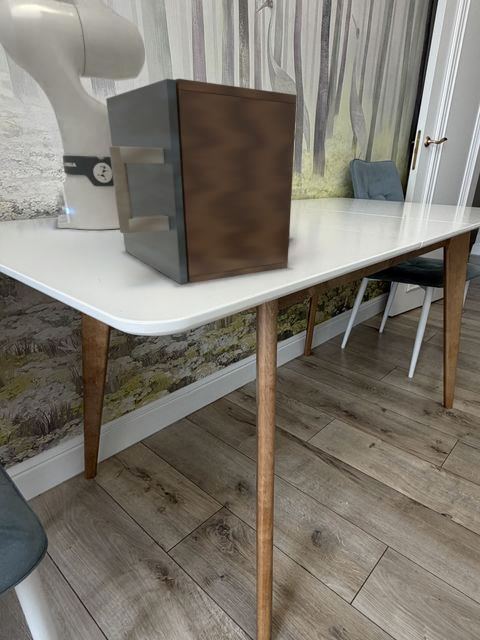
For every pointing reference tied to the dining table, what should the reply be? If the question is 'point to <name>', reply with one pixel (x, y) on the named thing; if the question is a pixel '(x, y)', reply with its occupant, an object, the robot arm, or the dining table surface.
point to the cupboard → (235, 178)
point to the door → (149, 176)
